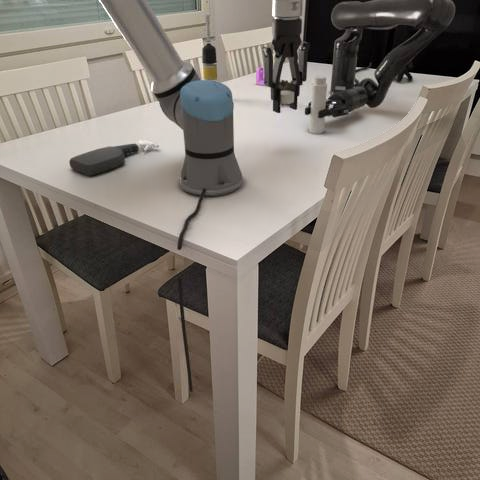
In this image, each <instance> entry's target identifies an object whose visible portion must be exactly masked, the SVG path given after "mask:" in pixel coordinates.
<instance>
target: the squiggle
mask: <svg viewBox="0 0 480 480" xmlns="http://www.w3.org/2000/svg"><path fill="white" fill-rule="evenodd" d="M412 60H413V59H412ZM412 60H411V61H410V62H409V63H408V64H407V67H406V66H405V67H404V68H403V70H402V71H401V72H400V73H399V74H398V76H397V77H396V81H397V82H399V83H400V82H402V81H403V79H404V76H406V78H407V80H408V81H412V80H413V79H414V77H413V75H412V74H411V73H410V72H409V71H410V70H412V69H413V68H414V64H413V61H412Z"/></svg>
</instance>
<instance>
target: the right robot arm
mask: <svg viewBox="0 0 480 480" xmlns="http://www.w3.org/2000/svg"><path fill="white" fill-rule="evenodd" d="M455 13H456V5H455V3H454V1H453V0H369V1H364V2H361V1H358V0H357V1H355V0H354V1H341V2H339V3H337V4H336V5H335V6H334V7H333V9H332V11H331V14H330V20H331V23H332V25H333V26H334V27H335V28H336V29H338V30H345V32H344V33H343V35H341V36H340V37H338V38H337V39H335V40H334V45H333V55H332V69H331V77H330V78H331V80H330V90H329V94H330V95H329V97H328V98H326V106H325V109H323V110H320V111H319V112H318V118H323V117H325V118H326V117H328V118H329V117H332V118H338V117H344V116H348V115H349V114H350V113H351V112H354V111H355V110H357V109H360V108H362V107H364V106H367V107H368V108H370V109H375V108H377V107H379V106H380V105H382V103H383V102H384V101H385V98H386V96H387V94H388V93H389V90H390V88H391V85H392V84H393V82H394V81H395V79H397V76H398V74H399V73H400V72H401V71H402V70H403V68H404V67H405V68H406V66H408V63H409V62H410V61H411V60H413V59H414V58H415V57H416V56H417V55H418V54H419V53H420V52H422V50H423V49H425V48H426V47H427V46H428V45H429V44H430V43H431V42H433V40H434V39H436V38H437V37H438V36H439V35H440V34H441V33H442V32H444V30H446V28H448V26H449V25H450V24H451V23H452V20H453V19H454V16H455ZM399 25H405V26H411V27H415V28H418V31H417V32H416V33H415V34H413V35H412V36H411V37H410V38H408V39H407V40H405V41H404V42H403V43H401V44H398V46H397V47H394V48H393V49H392V50H391V51H390V52H388V53H387V55H386V56H385V57H384V58H383V60H382V61H381V62H380V64H379V65H378V66H377V67H376V69H375V70H374V72H373V73H374V74H373V75H374V79H375V80H374V79H373V78H370V77H366V78H363V79H362V80H361V81H359V80H358V79H357V78H356V73H357V72H361V71H364V70H368V69H370V68H371V67H372V65H373V64H372V62H369V63H368V64H369V65H368V66H365V67H360V68H357V62H358V54H359V53H358V52H359V45H360V43H361V40H362V36H363V29H368V30H369V29H370V30H392V29H394V28H396V27H398V26H399ZM310 113H311V101H310V102H308V104H307V107H305V108H304V115H305V116H310Z"/></svg>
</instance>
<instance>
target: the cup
mask: <svg viewBox="0 0 480 480" xmlns="http://www.w3.org/2000/svg"><path fill="white" fill-rule="evenodd" d="M290 84H293V82H292V80H291V81H290V82H289V80H288V79H287V80H286V79H285V80H284V79H282V80H280V81H279V86H278V88H280V89H281V91H290ZM283 105H284V106H285V105H287V104H283Z"/></svg>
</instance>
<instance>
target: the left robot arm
mask: <svg viewBox="0 0 480 480" xmlns="http://www.w3.org/2000/svg"><path fill="white" fill-rule="evenodd" d="M98 1H99V2H100V4H101V5H102V7H103V8H104V10H105V12H106V13H107V14H108V16H109V17H110V19H111V20H112V22H113V23H114V25H115V27H116V29H117V30H118V31H119V33H120V34H121V36H122V37H123V39H124V40H125V42H126V44H127V45H128V46H129V48H130V49H131V51H132V53H133V54H134V55H135V57H136V59H137V60H138V61H139V63H140V65H141V66H142V68H143V69H144V70H145V72H146V74H147V75H148V77H149V78H150V80H151V87H150V90H151V93H152V94H153V95H154V97H155V98H156V100H157V102H158V104H159V108H160V109H161V111H162V113H163V114H164V116H165V117H166V118H167V119H168V120H169V121H171V122H172V123H174V124H175V125H176V126H177V127H179V128H180V129H181V130H182V131H183V141H184V142H183V143H184V154H185V155H184V158H183V164H182V168H181V171H180V177H179V183H180V184H179V185H180V188H181V189H182V191H184V192H186V193H187V194H190V195H194V196H199V197H198V200H197V204H196V207H195V210H194V211H193V212H192V213H190V214H189V215H188V216H187V218H186V219H185V221H184V223H183V227H182V229H181V231H180V233H179V235H178V240H177V249H176V250H178V251H180V250H182V246H183V239H184V235H185V233H186V231H187V230H188V226H189V222H190V221H191V220H192V219H193V218H194V217H195V216H196V215H197V214H198V213H199V211H200V209H201V206H202V202H203V199H204V197H221V196H224V195H229V194H232V193H234V192H235V191H237V190H239V189H240V188H241V187H242V185H243V174H242V171H241V168H240V165H239V163H238V160H237V157H236V154H235V132H234V131H235V130H234V127H235V126H234V109H235V105H234V100H233V98H234V97H233V93H232V90H231V88H230V87H228V86H227V85H226V84H225V83H222V82H219V81H215V80H212V81H210V80H204V79H202V80H201V78H200V76H199V75H198V73H197V71H196V69H195V68H194V66H193V64H192V63H191V62H188V61H183V60H182V58H181V57H180V55H179V53H178V51H177V50H176V48H175V46H174V45H173V43H172V41H171V39H170V38H169V36H168V34H167V33H166V31H165V29H164V28H163V25H162V24H161V22H160V21H159V19H158V18H157V16H156V14H155V12H154V11H153V9H152V7H151V6H150V4H149V2H148V0H98ZM271 1H272V2H271V4H272V5H271V16H272V17H273V19H272V21H271V34H272V39H271V40H272V41H271V44H269V45H268V46H262V48H261V50H262V53H263V70H264V75H263V78H264V85H263V86H265V87H267V88H270V100H271V101H272V112H275V113H277V114H280V113H281V105H282V104H281V89H280V88H278V86H279V81H280V82H281V76H282V71H283V66H284V63H285V62H286V59H287V60H288V64H289V65H288V66H289V70H290V75H291V81H292V82H293V84H290V91H292V92H294V102H293V103H290V104H288V106H289V107H288V108H289V109H291V110H295V111H296V110H298V97H299V96H300V94H301V93H300V92H301V91H300V90H301V89H300V88H301V86H303V84H304V82H306V81H307V79H308V55H309V54H308V53H309V50H310V46H311V44H310V42H307V41H303V40H302V38H301V34H302V26H303V20H302V18H301V17H302V16H303V1H304V0H271ZM214 81H215V82H214ZM177 287H178V289H177V290H178V300H179V301H178V303H179V315H180V322H181V332H182V339H183V347H184V355H185V364H186V372H187V381H188V389H189V390H188V391H189V392H190V393H192V392H193V381H192V380H193V378H192V371H191V362H190V354H189V347H188V346H189V344H188V338H187V336H188V335H187V327H186V317H185V308H184V296H183V295H184V293H183V279H182V278H181V277H180V276H177Z"/></svg>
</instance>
